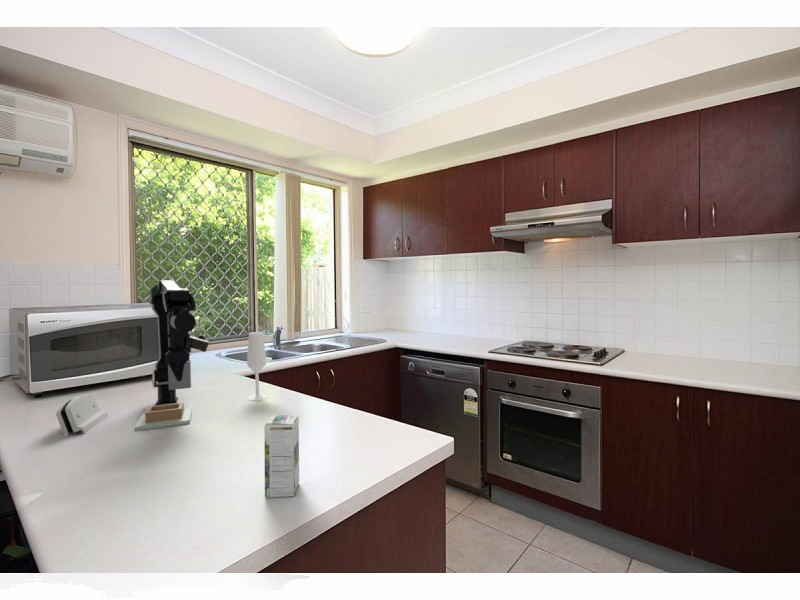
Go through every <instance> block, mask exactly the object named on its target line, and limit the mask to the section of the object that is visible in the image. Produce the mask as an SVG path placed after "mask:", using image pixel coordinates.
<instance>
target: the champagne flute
mask: <svg viewBox="0 0 800 600" xmlns="http://www.w3.org/2000/svg"><path fill="white" fill-rule="evenodd" d="M265 348H266V347H265V340H264V332H262V331H253V332H249V333H248V343H247V356H246V358H247V359H246V365H247V367H248V368H249V369H250V370H252V372H254V373H255V374H254V376H255V393H254V394H252V395H250V397H248V398H247V400H248V399H249V400H248V401H252V400H256V401H262V400H261V399H263V400H265V399H264V398H266V396H267V395H265V394H262V393H261V392H260V378H259V375H260V374H259V373H260V371H262V369H264V367H265V366H266V364H267V357H266V349H265ZM266 399H267V398H266Z"/></svg>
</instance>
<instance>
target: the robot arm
mask: <svg viewBox="0 0 800 600" xmlns="http://www.w3.org/2000/svg"><path fill="white" fill-rule="evenodd" d="M149 305H151V310H152V311H153V312H154V313H155V315H156V316H157V333H158V335H157V336H158V337H157V338H158V355H159V356H158V359H157V360H156V362H155V364H154V369H153V371H152V376H151V386H152V387H153V388H157V400H156V402H155V406H156V405H166V404H175V403H178V399H179V397H178V396H177V389H174V390H169V381H168V364H169V366H170V368H171V370H172V371H173V373H174V375H175V377H176V379H177V381H181V380H182V375H183V369H184V364H185V363H186V362H187V361H189V360H191V359H190V356H191V353H192V349H193V350H199V351H200V352H204V353H206V351H207V349H208V347H209V344H210V340H207V339H206V337H205V335H204V334H199V335H198V336H192V335H191V332H190V331H193V330H194V329H195V327H196V323H197V321H196V318H195V316H194V315H193V314H191V313H190V312H194V311H195V310H196V301H195V297H194V296H193V294H192V292H190V290H189V288H185V287H184V288H181V287H179V286H178V285H177V283H176V281H175V280H173V279H172V280H171V279H167V280H166V279H164V280H163V279H161V280H158V281H157V284H156V285H154V287H152V288H151V289H150V291H149Z"/></svg>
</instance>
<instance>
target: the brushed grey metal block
mask: <svg viewBox="0 0 800 600" xmlns="http://www.w3.org/2000/svg"><path fill="white" fill-rule="evenodd" d="M191 365H192V362H191V359H189V361H187V362H186V363H185V364H184V369H183V375H182V380H181V381H177V379H176V377H175V375H174V373H173V371H172V370H171V368H170V366H169V364H168V381H169V390H174V389H176V390H182V389H191V388H192V367H191Z"/></svg>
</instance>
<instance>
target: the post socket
mask: <svg viewBox="0 0 800 600" xmlns="http://www.w3.org/2000/svg"><path fill="white" fill-rule="evenodd" d="M184 405H185V404H184V402H176V403H167V404H158V405H156V404H155V405H150V406H148V408H147V409H146V411H145V413H142V415H141V417H140V418H139V419H138V421H137V422H136V424H135V426H134V431H140V430H149V429H156V428H164V427H173V425H174V426H181V425H180V424H182V425H188V423H189V424H190V423H191V420H190V419H192V414H193V408H185V409H184V407H185V406H184Z"/></svg>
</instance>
